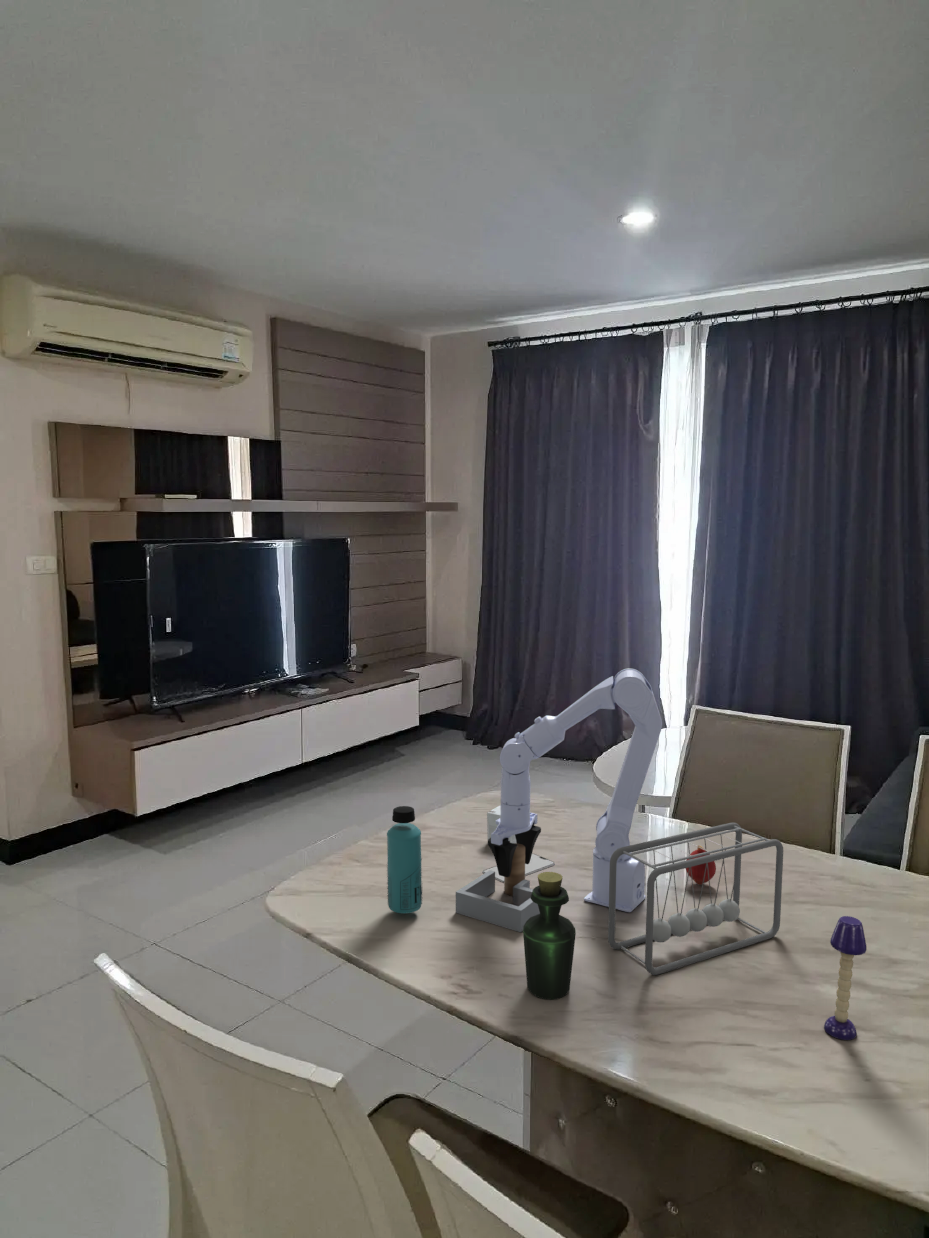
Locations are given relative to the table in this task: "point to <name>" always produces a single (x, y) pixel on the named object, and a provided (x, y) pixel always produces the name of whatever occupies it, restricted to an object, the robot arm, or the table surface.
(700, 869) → the onion
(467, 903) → the channel
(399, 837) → the beverage bottle
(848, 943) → the toy lamp
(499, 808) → the skincare box
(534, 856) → the smartphone
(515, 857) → the peg
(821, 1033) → the table surface
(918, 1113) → the table surface
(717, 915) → the newton's cradle
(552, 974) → the potion bottle
